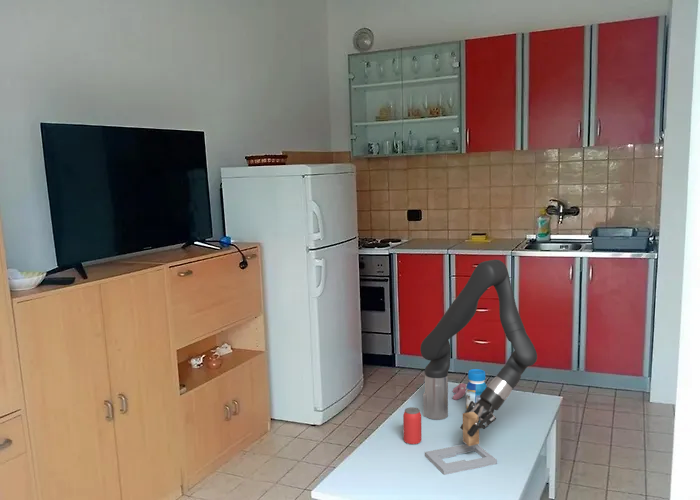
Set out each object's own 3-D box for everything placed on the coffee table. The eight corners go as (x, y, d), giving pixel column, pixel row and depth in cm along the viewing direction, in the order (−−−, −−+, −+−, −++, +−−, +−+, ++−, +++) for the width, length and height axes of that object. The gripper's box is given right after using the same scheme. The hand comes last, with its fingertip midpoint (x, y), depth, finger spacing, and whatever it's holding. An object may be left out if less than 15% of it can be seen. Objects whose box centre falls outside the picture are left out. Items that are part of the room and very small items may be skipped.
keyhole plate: (474, 446, 208) (474, 442, 208) (496, 463, 195) (496, 459, 195) (424, 456, 202) (424, 451, 202) (443, 474, 189) (443, 470, 189)
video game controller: (461, 404, 252) (468, 390, 251) (451, 399, 252) (459, 385, 251) (461, 395, 262) (468, 382, 260) (451, 391, 262) (458, 378, 261)
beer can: (423, 439, 215) (423, 408, 214) (418, 446, 209) (417, 414, 208) (407, 436, 218) (406, 405, 217) (401, 443, 212) (400, 412, 211)
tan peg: (473, 439, 202) (472, 411, 201) (479, 443, 198) (478, 415, 197) (462, 441, 200) (462, 413, 199) (468, 445, 197) (468, 417, 196)
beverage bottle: (486, 425, 226) (486, 375, 224) (464, 422, 229) (464, 373, 226) (488, 417, 234) (488, 369, 231) (467, 414, 237) (467, 367, 234)
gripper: (478, 380, 206) (448, 418, 204) (501, 393, 193) (469, 434, 190) (491, 392, 208) (462, 430, 206) (514, 406, 195) (483, 447, 193)
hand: (465, 432), depth 198 cm, fingers closed on tan peg, 4 cm apart
